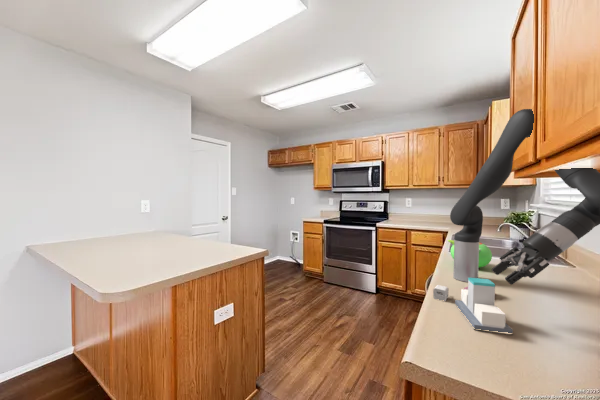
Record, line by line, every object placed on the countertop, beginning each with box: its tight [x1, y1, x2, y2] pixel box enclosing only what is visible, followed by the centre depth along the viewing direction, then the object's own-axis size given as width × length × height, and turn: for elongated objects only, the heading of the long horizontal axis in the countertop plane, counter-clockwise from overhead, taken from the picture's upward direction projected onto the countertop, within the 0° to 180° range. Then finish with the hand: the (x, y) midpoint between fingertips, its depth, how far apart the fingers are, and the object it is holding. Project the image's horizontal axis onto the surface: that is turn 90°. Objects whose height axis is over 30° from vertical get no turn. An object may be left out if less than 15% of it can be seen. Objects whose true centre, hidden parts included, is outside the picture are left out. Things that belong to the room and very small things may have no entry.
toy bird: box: [447, 239, 493, 268], centre depth 131 cm, size 18×17×15 cm
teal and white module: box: [467, 277, 496, 313], centre depth 77 cm, size 4×6×10 cm
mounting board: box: [454, 288, 514, 333], centre depth 77 cm, size 17×9×6 cm, turn 164°
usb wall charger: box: [432, 284, 449, 302], centre depth 92 cm, size 4×7×4 cm, turn 139°
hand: (500, 276), depth 75 cm, fingers open, 8 cm apart
